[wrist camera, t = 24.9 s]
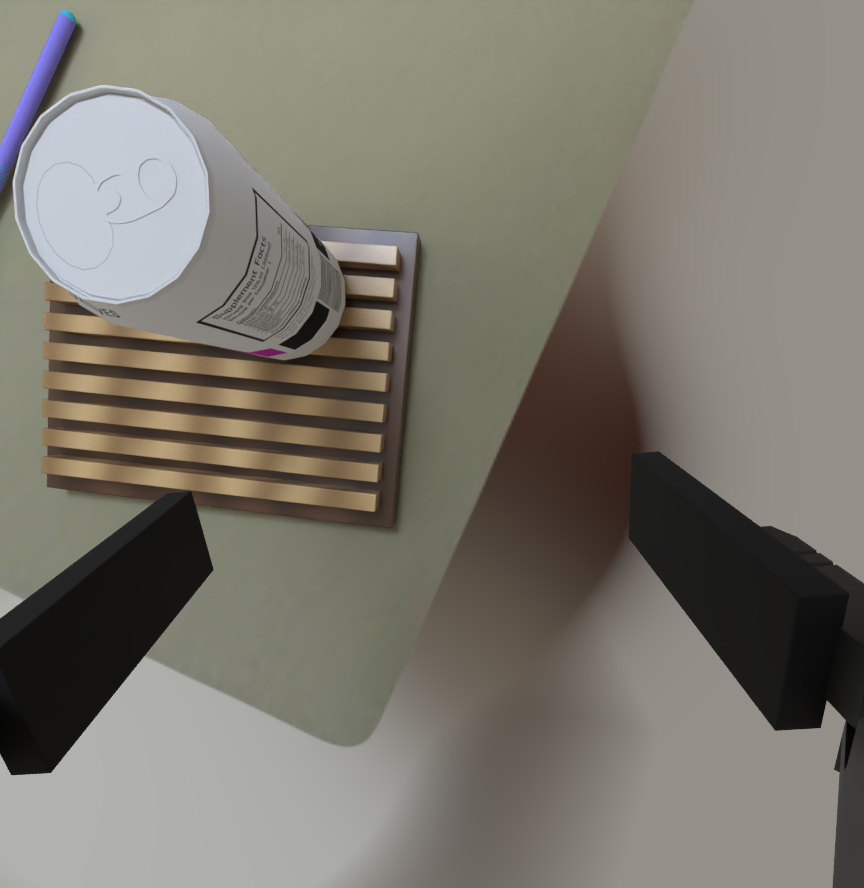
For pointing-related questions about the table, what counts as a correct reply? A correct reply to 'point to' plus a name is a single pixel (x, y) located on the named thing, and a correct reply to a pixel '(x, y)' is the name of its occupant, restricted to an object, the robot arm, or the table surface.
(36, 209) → the supplement can
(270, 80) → the table surface
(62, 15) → the spoon
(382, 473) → the scrub board
